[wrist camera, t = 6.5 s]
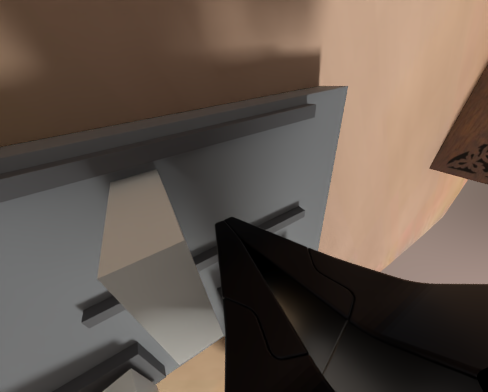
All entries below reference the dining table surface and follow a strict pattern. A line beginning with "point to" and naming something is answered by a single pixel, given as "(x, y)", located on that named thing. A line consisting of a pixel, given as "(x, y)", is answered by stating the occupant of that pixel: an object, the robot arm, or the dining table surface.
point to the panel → (184, 206)
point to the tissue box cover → (468, 139)
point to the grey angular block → (155, 268)
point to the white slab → (132, 383)
